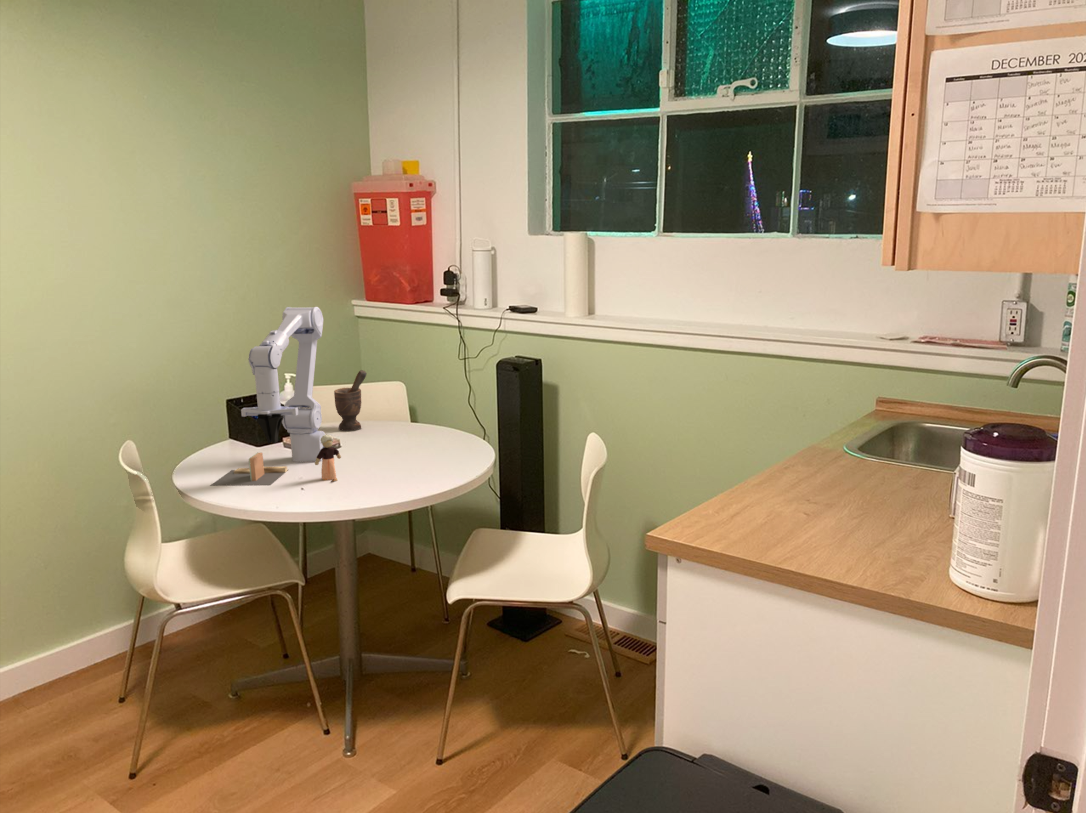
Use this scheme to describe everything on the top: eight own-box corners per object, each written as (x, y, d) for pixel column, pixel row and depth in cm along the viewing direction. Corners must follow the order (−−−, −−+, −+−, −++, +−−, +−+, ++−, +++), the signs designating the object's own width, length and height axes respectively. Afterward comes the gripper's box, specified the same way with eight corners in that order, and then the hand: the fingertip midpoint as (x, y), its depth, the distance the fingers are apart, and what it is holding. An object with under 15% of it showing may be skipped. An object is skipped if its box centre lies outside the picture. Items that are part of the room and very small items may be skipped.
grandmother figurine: (325, 485, 225) (321, 438, 222) (314, 483, 227) (310, 436, 224) (346, 478, 231) (342, 431, 229) (335, 476, 234) (332, 430, 231)
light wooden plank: (288, 469, 238) (288, 465, 237) (284, 473, 235) (284, 468, 234) (238, 470, 238) (237, 466, 238) (234, 473, 235) (233, 469, 235)
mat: (289, 472, 238) (288, 469, 238) (270, 488, 224) (270, 485, 224) (232, 472, 239) (231, 470, 239) (210, 488, 225) (209, 485, 225)
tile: (264, 474, 234) (262, 452, 233) (256, 480, 228) (253, 458, 227) (259, 474, 234) (257, 452, 233) (250, 480, 228) (248, 458, 227)
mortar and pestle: (375, 425, 289) (371, 366, 285) (368, 432, 281) (364, 371, 277) (341, 426, 290) (336, 367, 286) (333, 432, 282) (328, 371, 277)
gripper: (234, 395, 223) (239, 446, 226) (290, 394, 222) (294, 445, 225) (245, 389, 229) (250, 439, 232) (299, 389, 229) (303, 439, 232)
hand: (272, 442), depth 229 cm, fingers closed
